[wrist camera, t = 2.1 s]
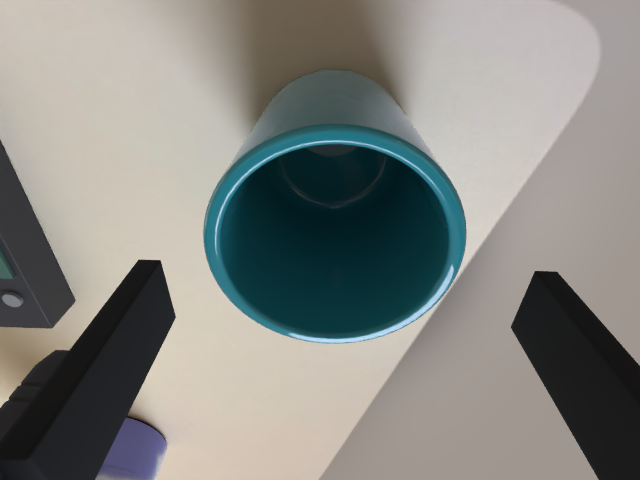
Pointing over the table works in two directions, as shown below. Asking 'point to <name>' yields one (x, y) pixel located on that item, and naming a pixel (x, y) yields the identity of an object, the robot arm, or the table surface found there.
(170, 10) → the table surface
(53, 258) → the scale
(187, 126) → the table surface
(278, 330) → the cup
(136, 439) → the container
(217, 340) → the table surface
